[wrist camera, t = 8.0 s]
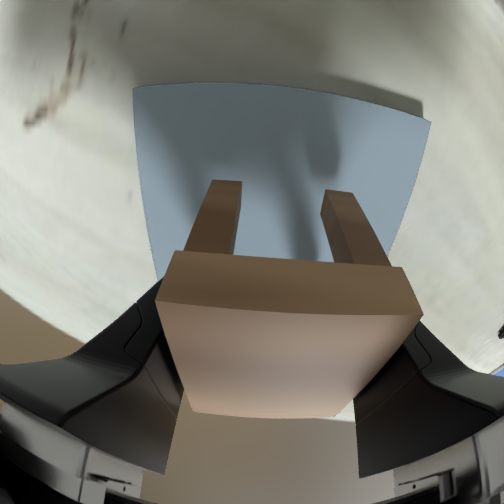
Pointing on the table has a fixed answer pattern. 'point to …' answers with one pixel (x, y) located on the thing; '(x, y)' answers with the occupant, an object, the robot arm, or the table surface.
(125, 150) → the table surface
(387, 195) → the slate mat
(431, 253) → the table surface
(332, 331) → the walnut stool
